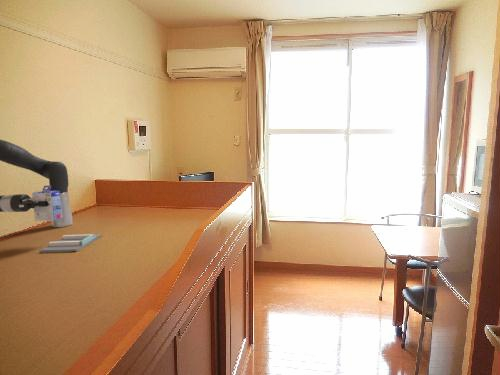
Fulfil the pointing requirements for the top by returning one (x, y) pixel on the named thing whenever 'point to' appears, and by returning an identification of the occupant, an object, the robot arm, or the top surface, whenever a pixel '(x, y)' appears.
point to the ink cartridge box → (54, 207)
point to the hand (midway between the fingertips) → (52, 202)
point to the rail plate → (70, 243)
